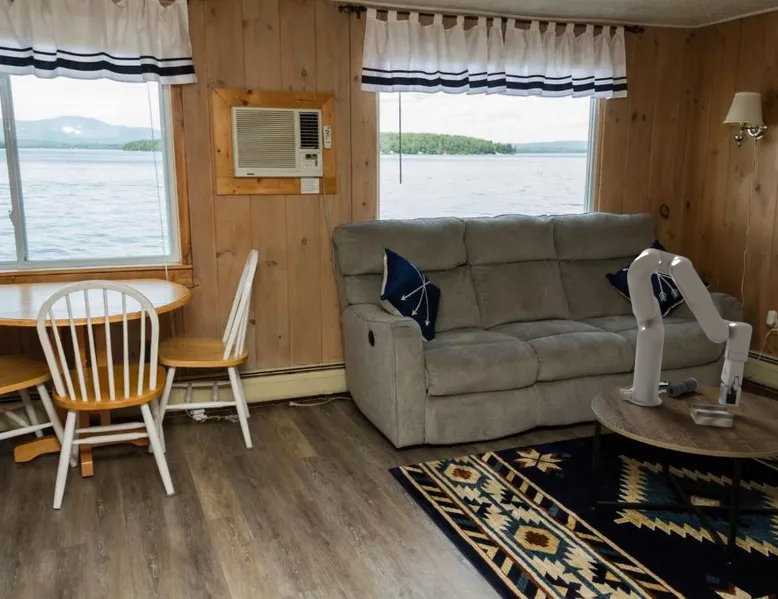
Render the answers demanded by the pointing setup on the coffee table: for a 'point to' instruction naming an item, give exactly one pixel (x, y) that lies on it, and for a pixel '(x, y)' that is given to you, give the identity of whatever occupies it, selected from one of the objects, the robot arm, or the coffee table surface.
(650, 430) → the coffee table surface
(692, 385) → the flashlight
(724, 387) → the tall white block
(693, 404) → the cradle
